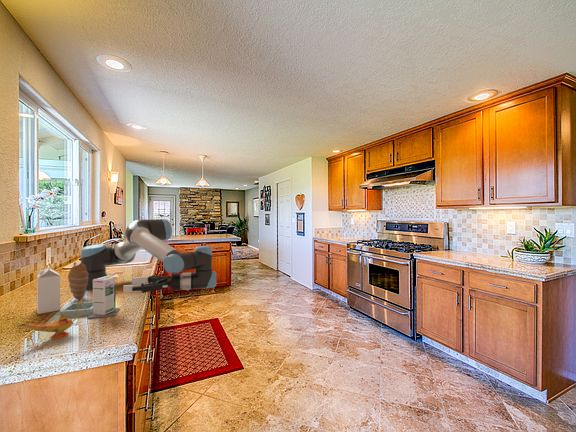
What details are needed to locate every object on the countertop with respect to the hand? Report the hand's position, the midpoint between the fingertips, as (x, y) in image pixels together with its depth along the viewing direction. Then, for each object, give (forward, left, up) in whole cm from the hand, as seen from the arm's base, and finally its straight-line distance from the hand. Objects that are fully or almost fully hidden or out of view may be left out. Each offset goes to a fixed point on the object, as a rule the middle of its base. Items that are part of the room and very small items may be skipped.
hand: (127, 284), depth 117 cm
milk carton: (-11, -33, -12) cm, 36 cm away
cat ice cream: (-25, -27, -12) cm, 38 cm away
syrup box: (0, -9, -11) cm, 14 cm away
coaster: (0, -9, -12) cm, 14 cm away
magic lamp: (+20, -18, -12) cm, 29 cm away
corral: (-5, -19, -12) cm, 22 cm away
